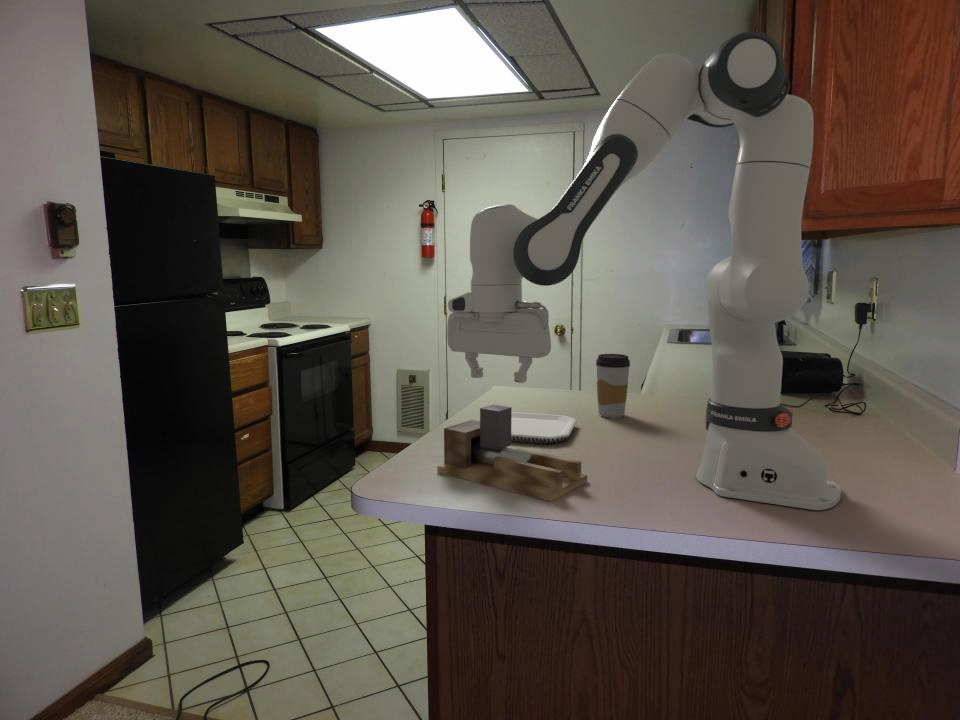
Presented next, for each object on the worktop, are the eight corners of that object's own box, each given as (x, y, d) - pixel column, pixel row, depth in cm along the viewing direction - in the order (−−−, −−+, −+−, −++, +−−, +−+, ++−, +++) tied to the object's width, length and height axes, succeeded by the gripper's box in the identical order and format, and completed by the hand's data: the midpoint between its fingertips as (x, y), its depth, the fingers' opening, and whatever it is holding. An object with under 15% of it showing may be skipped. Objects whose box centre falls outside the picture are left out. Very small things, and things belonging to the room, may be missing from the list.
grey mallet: (534, 469, 114) (535, 411, 113) (521, 475, 111) (522, 415, 109) (472, 455, 123) (471, 400, 121) (458, 460, 119) (458, 404, 118)
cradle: (587, 481, 112) (588, 438, 111) (551, 501, 103) (551, 454, 102) (477, 456, 127) (477, 418, 126) (437, 472, 117) (437, 430, 116)
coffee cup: (635, 416, 160) (637, 356, 158) (611, 420, 156) (613, 359, 154) (611, 410, 167) (612, 352, 165) (587, 414, 163) (588, 355, 160)
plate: (470, 441, 139) (470, 431, 139) (494, 419, 159) (494, 410, 158) (566, 448, 133) (566, 438, 133) (578, 425, 153) (578, 416, 153)
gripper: (557, 300, 109) (558, 382, 111) (462, 299, 121) (465, 372, 123) (537, 303, 104) (538, 388, 106) (440, 301, 116) (443, 377, 118)
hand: (498, 379), depth 114 cm, fingers open, 8 cm apart
